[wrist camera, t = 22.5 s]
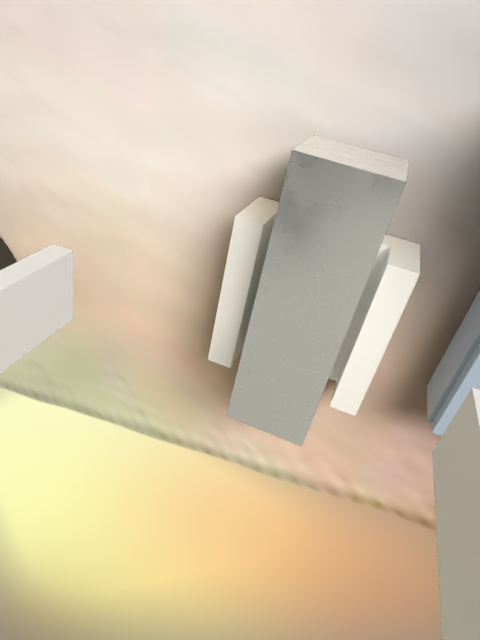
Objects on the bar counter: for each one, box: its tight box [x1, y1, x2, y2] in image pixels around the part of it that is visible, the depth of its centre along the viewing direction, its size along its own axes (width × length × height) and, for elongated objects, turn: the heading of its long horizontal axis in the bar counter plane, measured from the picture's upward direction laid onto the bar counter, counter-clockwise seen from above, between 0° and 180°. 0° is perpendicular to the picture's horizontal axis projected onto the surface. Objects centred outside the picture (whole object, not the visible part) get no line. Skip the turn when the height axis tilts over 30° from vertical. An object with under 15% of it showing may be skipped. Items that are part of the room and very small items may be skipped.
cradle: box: [208, 196, 420, 416], centre depth 31 cm, size 11×11×5 cm
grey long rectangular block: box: [226, 135, 409, 446], centre depth 28 cm, size 18×6×6 cm, turn 169°
